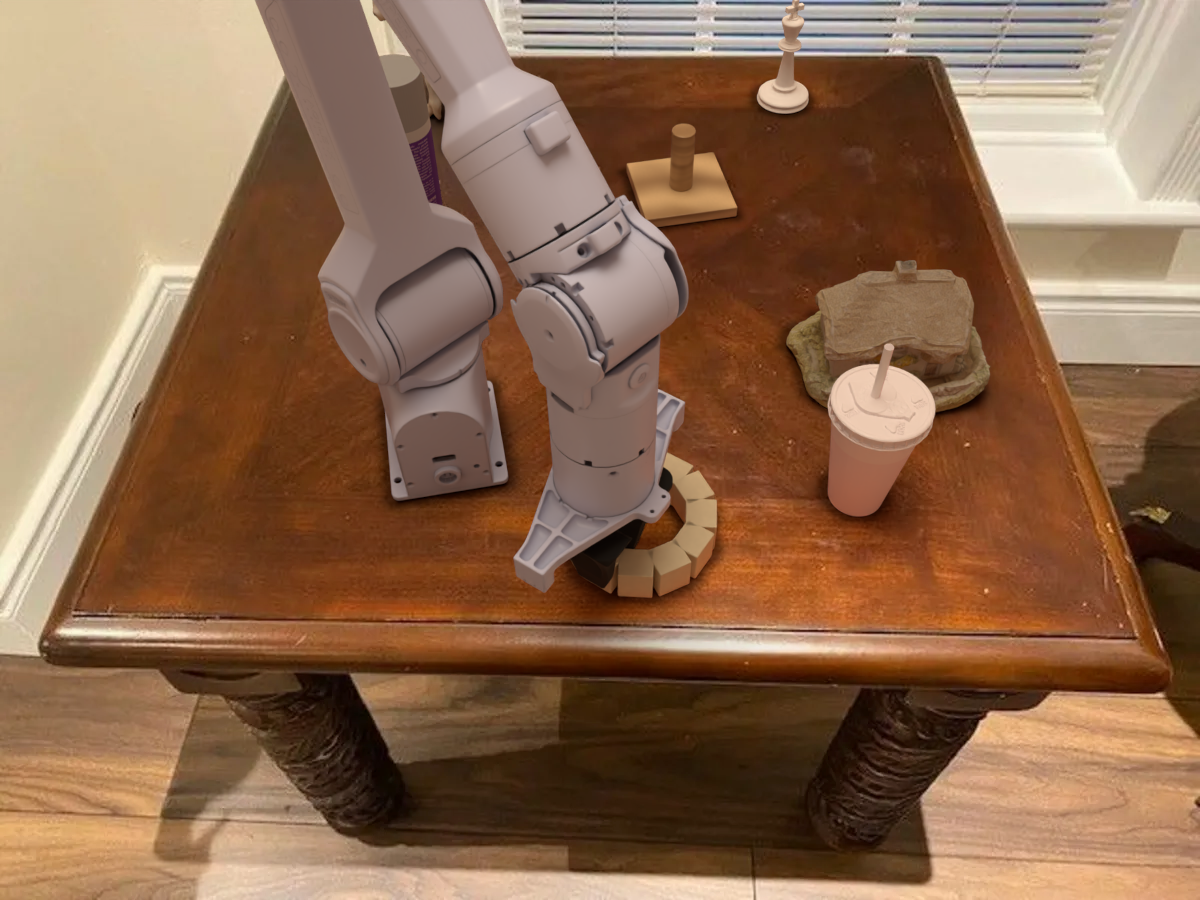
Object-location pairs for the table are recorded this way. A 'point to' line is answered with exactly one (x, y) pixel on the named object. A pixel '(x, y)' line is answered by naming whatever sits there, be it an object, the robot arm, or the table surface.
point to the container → (414, 118)
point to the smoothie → (874, 432)
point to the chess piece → (786, 70)
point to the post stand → (681, 184)
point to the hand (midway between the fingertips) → (605, 562)
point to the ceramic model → (895, 333)
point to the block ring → (684, 552)
